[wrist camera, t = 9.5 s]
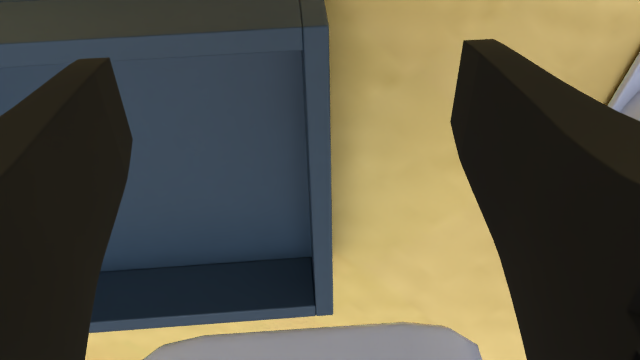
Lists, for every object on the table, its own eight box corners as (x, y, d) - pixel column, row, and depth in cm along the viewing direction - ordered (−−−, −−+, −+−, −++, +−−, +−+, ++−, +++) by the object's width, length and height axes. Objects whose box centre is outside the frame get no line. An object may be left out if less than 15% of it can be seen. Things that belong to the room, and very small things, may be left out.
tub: (320, -23, 20) (329, 25, 18) (327, 256, 30) (333, 315, 27) (-144, 2, 20) (-209, 55, 17) (16, 278, 29) (-9, 341, 27)
